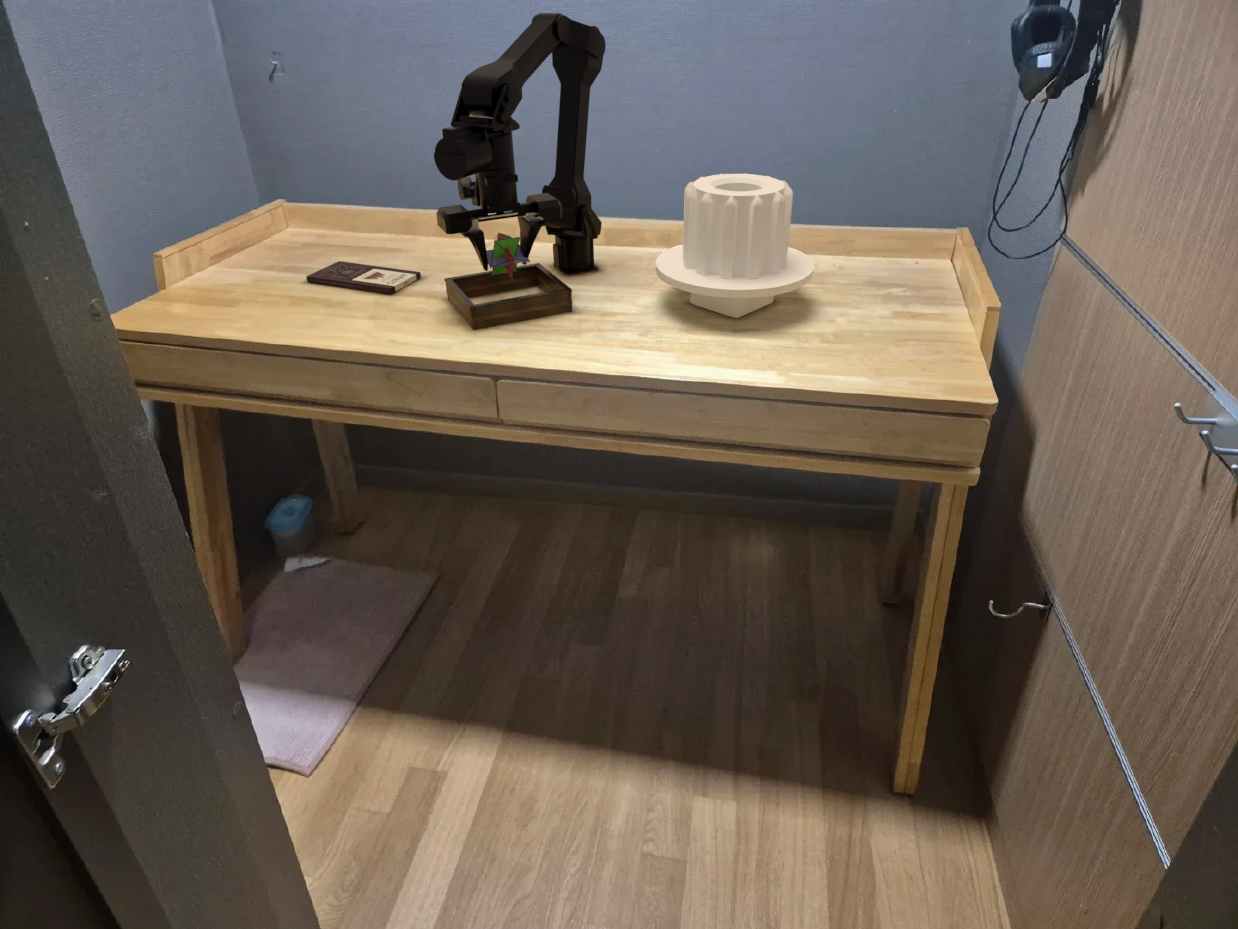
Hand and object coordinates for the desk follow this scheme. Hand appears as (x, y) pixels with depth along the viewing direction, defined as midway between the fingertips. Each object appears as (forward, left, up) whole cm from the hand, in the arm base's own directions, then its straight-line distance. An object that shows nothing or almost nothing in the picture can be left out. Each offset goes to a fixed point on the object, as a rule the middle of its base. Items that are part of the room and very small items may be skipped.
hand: (505, 266), depth 130 cm
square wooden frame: (0, 0, -7) cm, 7 cm away
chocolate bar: (+19, -24, -7) cm, 31 cm away
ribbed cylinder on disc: (-33, +16, -7) cm, 37 cm away
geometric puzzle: (0, 0, -2) cm, 2 cm away
